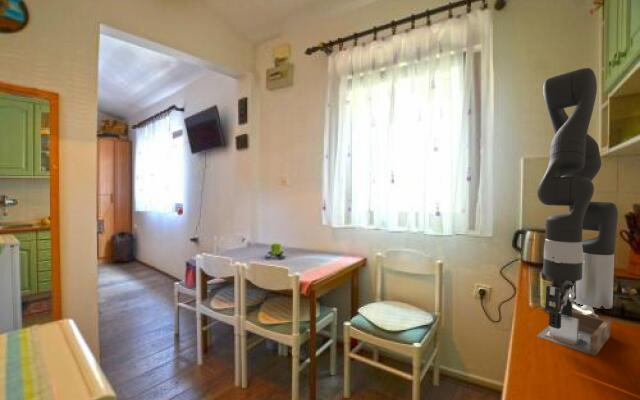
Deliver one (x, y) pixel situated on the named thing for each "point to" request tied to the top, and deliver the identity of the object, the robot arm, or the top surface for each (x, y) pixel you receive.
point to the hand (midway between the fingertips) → (560, 322)
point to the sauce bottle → (544, 289)
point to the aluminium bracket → (567, 330)
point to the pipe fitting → (584, 310)
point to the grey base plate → (581, 346)
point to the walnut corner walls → (594, 330)
